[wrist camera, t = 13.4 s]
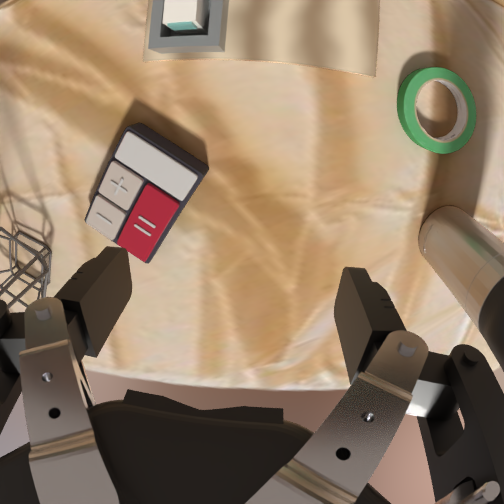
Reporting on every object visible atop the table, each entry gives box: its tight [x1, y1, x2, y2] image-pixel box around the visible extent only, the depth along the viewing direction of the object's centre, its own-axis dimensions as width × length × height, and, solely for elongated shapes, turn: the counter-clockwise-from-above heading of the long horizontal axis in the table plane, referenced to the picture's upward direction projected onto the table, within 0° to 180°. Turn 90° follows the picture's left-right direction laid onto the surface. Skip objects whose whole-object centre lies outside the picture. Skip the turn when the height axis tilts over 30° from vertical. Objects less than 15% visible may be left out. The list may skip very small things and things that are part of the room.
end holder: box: [148, 0, 229, 54], centre depth 26 cm, size 7×10×4 cm
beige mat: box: [143, 0, 380, 78], centre depth 28 cm, size 27×14×1 cm, turn 86°
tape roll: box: [397, 67, 476, 154], centre depth 31 cm, size 11×11×3 cm
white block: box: [163, 0, 209, 34], centre depth 24 cm, size 3×6×6 cm, turn 177°
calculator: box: [85, 123, 209, 263], centre depth 38 cm, size 11×4×15 cm
